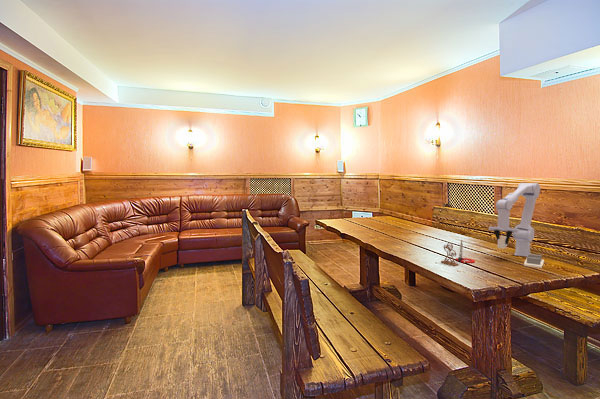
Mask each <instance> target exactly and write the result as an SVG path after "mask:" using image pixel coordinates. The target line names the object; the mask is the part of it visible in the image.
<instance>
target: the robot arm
mask: <svg viewBox="0 0 600 399" xmlns="http://www.w3.org/2000/svg"><path fill="white" fill-rule="evenodd" d="M540 192H541V186H540V184H539V183H538V182H534V183H533V182H520V183H518V185H517V189H516V190H514V191H513V192H509V193H508V194H506V196H505V197H503V198H502V199H499V200H497V201H496V203H495V208H496V212H497V226H488V231H493V234H494V235H495V237H496V240H497V242H498V239H499V238H500V237H501V232H506V233H505V234H506V235H505V236H506V244H508V245H509V240H510V238H511V236H512V237H513V238H514V241H515V252H514V253H513V255H514V256H520V257H526V258H527V257H528V254H532V253H531V242H532V241H533V240H534V238H535V228H534V227H532V226H531V223H532V219H533V214H534V210H535V207H536V206H535V205H536V201H537V199H538V198H539V196H540ZM521 196H522V198H525V202H524V205H523V210H522V214H521V219H520V223H519V224H517V225H515V227H510V218H511V217H510V214H511V212H510V211H511V210H512V208H513V206H514V204H515V203H516V202H517V201H519V197H521Z"/></svg>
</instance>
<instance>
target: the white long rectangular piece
mask: <svg viewBox="0 0 600 399" xmlns="http://www.w3.org/2000/svg"><path fill="white" fill-rule="evenodd" d="M508 245H509V243H508V244H506V235H500V238H499V239H498V241H497V249H504V250H505V249H506V248H507V246H508Z"/></svg>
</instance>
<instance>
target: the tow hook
mask: <svg viewBox="0 0 600 399" xmlns="http://www.w3.org/2000/svg"><path fill="white" fill-rule="evenodd" d="M463 245H464V244H463V239H461V240H460V245H459V253H458V254H459V256H458V257H455V259H454V261H457V262H460V263H462V264H473V263H475V262H476V261H475V259H472V258H467V257H463Z"/></svg>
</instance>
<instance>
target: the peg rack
mask: <svg viewBox="0 0 600 399" xmlns="http://www.w3.org/2000/svg"><path fill="white" fill-rule="evenodd" d="M523 263H524V264H523V266H525V267H530V268H537V269H543V267H542V266H544V263H545V260H544V258H543V259H542V254H534V253H531V254H528V257H527V256H526V259H525V260H524V262H523Z"/></svg>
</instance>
